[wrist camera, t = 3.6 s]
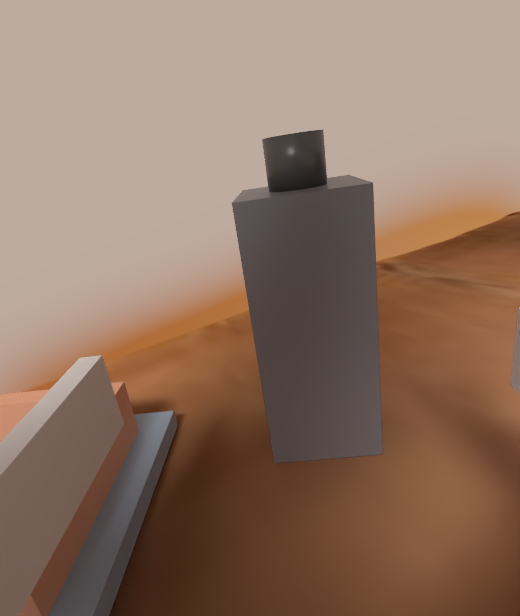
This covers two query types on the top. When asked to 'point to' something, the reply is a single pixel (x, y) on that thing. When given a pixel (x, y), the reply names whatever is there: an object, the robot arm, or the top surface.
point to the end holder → (99, 511)
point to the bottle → (313, 302)
